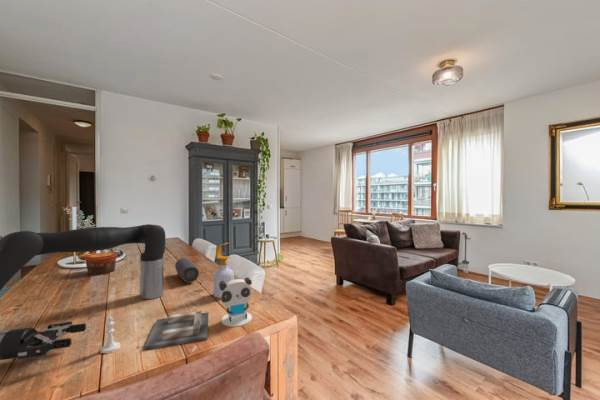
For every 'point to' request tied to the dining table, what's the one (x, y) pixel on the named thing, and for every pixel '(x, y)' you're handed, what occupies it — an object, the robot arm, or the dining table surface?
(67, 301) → the dining table surface
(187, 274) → the bluetooth speaker
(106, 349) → the chess piece
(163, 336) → the u rest
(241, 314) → the panda figurine
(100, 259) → the food container
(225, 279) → the soap bottle
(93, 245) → the robot arm
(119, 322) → the dining table surface
